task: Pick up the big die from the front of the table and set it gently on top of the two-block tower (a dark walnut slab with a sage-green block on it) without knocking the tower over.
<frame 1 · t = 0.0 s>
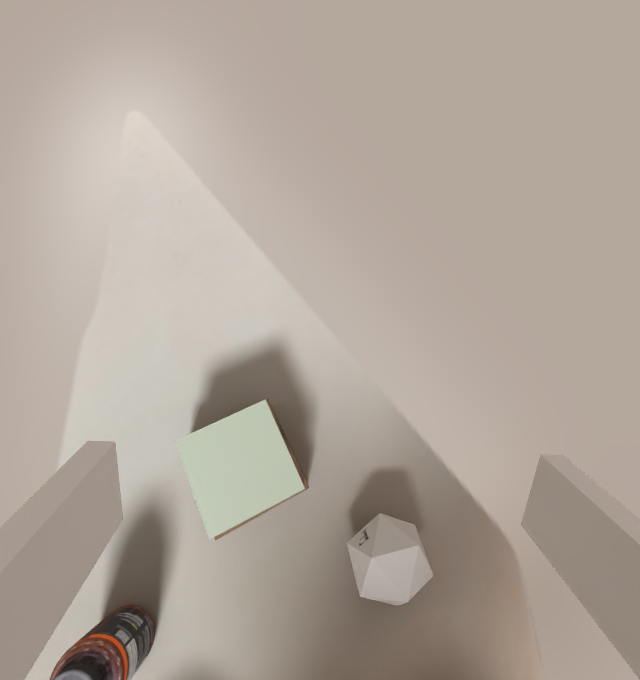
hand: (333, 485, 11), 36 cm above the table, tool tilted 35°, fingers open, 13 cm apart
supplement bottle: (127, 636, 38), on the table
sage block: (243, 465, 40), point 5 cm above the table, touching walnut slab
die: (379, 550, 43), on the table
walnut slab: (247, 465, 45), on the table, touching sage block
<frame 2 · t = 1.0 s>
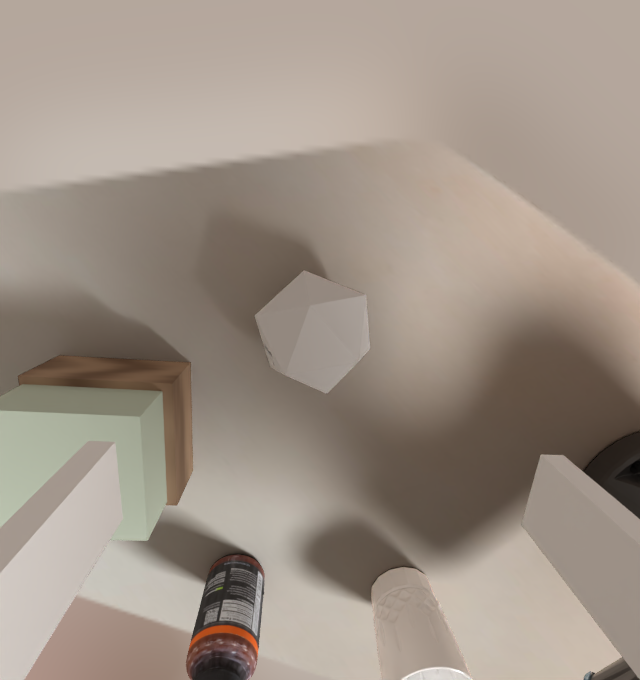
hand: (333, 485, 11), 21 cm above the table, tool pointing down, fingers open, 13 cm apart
supplement bottle: (237, 571, 39), on the table
white cup: (399, 587, 41), on the table
sage block: (99, 446, 28), point 5 cm above the table, touching walnut slab
die: (313, 320, 31), on the table
walnut slab: (131, 414, 33), on the table, touching sage block
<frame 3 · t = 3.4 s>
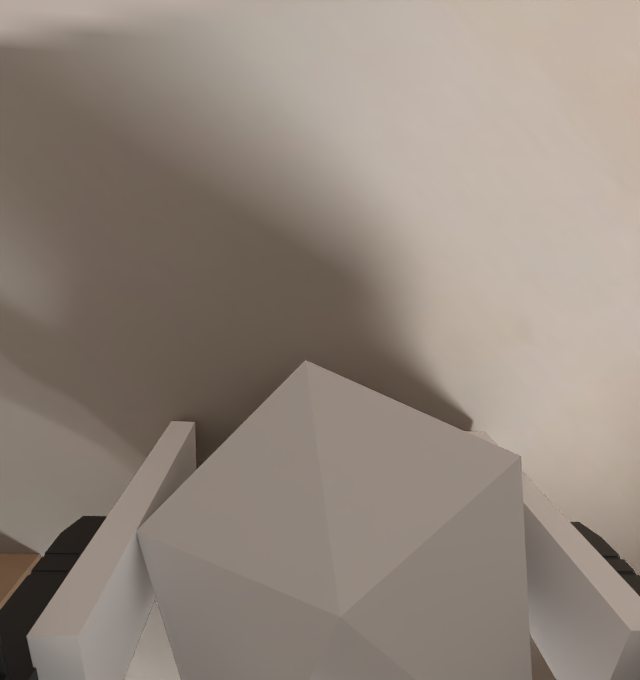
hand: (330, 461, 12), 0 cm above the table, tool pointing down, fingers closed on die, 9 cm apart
die: (328, 452, 13), on the table, touching gripper
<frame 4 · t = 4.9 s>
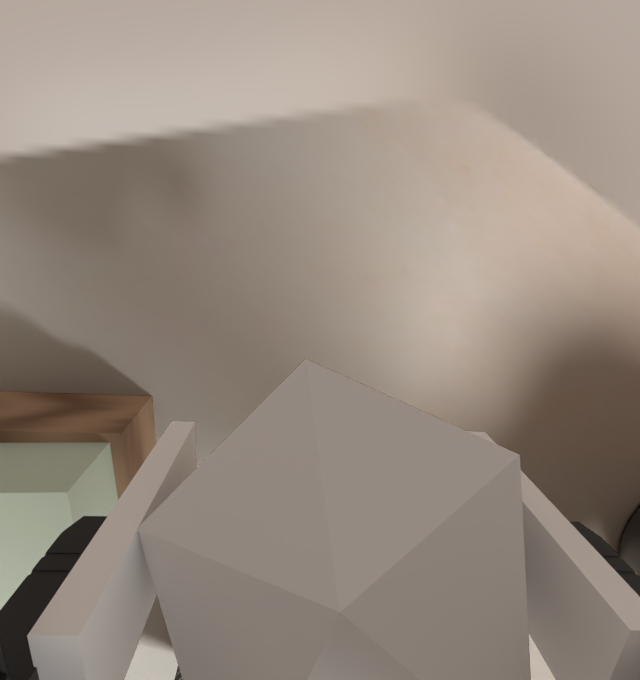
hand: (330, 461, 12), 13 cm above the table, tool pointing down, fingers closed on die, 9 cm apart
sage block: (32, 516, 21), point 5 cm above the table, touching walnut slab
die: (328, 451, 13), point 12 cm above the table, touching gripper
walnut slab: (79, 460, 26), on the table, touching sage block
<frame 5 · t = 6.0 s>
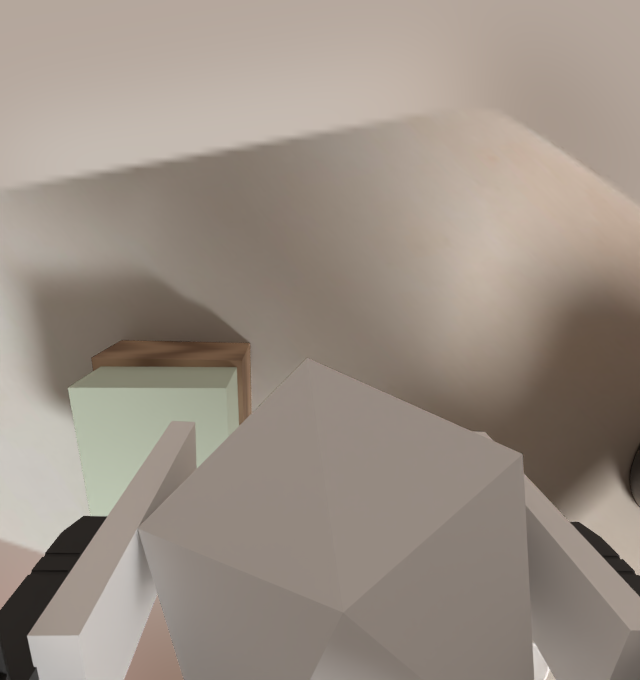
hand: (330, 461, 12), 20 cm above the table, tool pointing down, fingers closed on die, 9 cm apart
white cup: (455, 567, 40), on the table
sage block: (175, 426, 29), point 5 cm above the table, touching walnut slab
die: (329, 450, 13), point 19 cm above the table, touching gripper
walnut slab: (191, 397, 33), on the table, touching sage block
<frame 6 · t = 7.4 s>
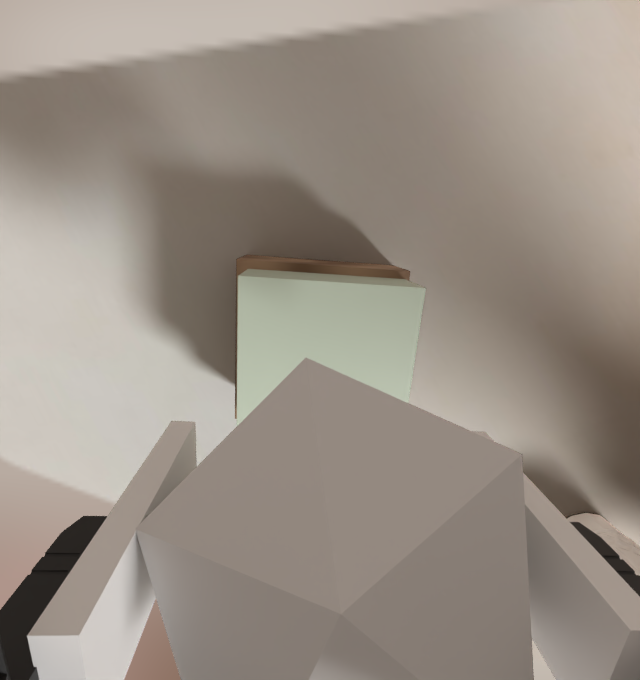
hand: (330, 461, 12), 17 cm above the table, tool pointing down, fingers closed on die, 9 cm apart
white cup: (576, 537, 37), on the table
sage block: (322, 348, 24), point 5 cm above the table, touching walnut slab
die: (329, 451, 13), point 16 cm above the table, touching gripper
walnut slab: (315, 329, 29), on the table, touching sage block
when the fingers open (11 cm above the table, at t = 8.9 s): die drops 2 cm, point 8 cm above the table.
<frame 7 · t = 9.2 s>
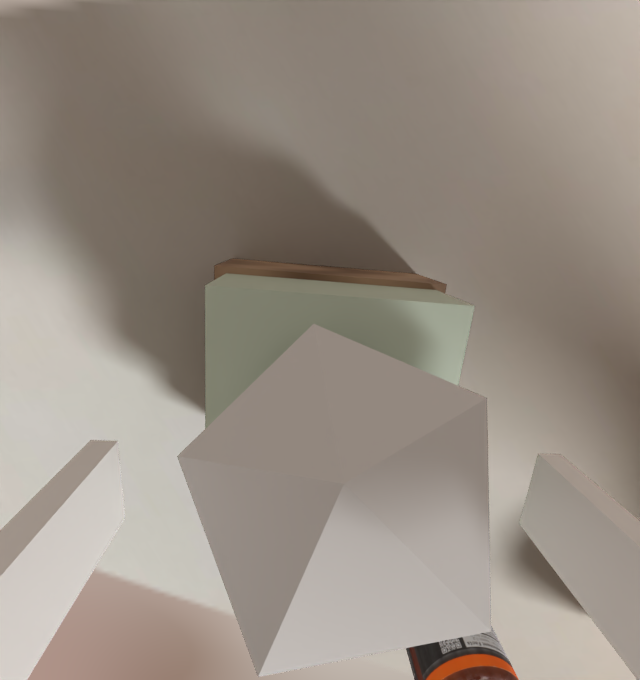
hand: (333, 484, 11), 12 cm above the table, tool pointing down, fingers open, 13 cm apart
supplement bottle: (424, 574, 29), on the table
sage block: (324, 379, 18), point 5 cm above the table, touching walnut slab
die: (330, 415, 15), point 8 cm above the table
walnut slab: (318, 352, 23), on the table, touching sage block
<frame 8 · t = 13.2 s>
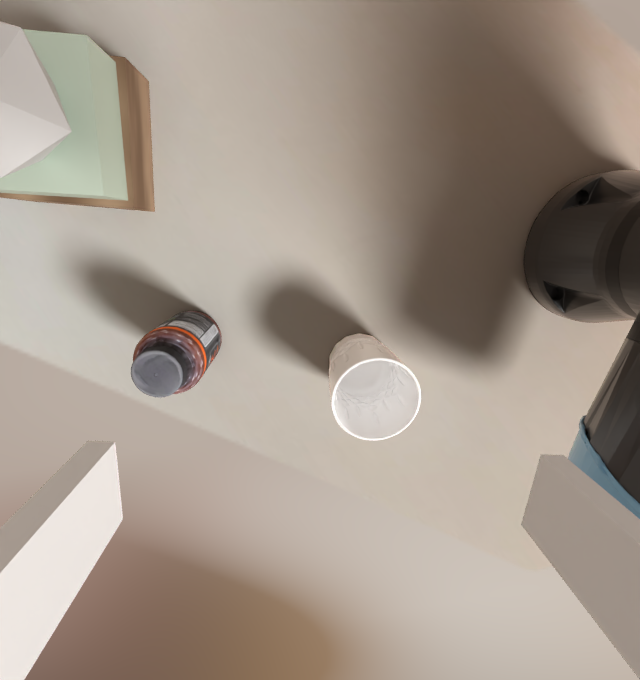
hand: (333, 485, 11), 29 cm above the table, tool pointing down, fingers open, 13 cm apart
supplement bottle: (195, 335, 39), on the table
white cup: (357, 360, 41), on the table
sage block: (57, 129, 29), point 5 cm above the table, touching die, walnut slab
die: (28, 115, 25), point 8 cm above the table, touching sage block
walnut slab: (92, 144, 34), on the table, touching sage block
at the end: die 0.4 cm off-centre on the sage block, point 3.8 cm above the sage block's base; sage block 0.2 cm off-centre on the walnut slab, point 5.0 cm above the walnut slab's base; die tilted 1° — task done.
